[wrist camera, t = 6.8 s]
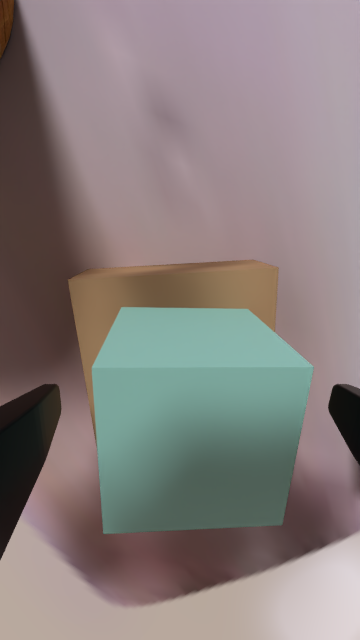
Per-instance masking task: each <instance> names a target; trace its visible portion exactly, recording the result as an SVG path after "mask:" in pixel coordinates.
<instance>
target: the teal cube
mask: <svg viewBox="0 0 360 640" xmlns="http://www.w3.org/2000/svg"><path fill="white" fill-rule="evenodd" d="M313 369H314V367H313V366H312V365H311V364H310V363H309V362H308V361H306V360H305V359H304V358H303V357H302V356H301V355H300V354H298V353H297V352H296V351H295V350H294V349H293V348H292V347H291V346H289V345H288V344H287V343H286V342H285V341H284V340H283V339H281V338H280V337H279V336H278V335H277V334H276V333H275V332H274V331H272V330H271V329H270V328H269V327H268V326H267V325H266V324H264V323H263V322H262V321H261V320H260V319H259V318H258V317H257V316H255V315H254V314H253V313H252V312H251V311H250V310H249V309H223V308H149V307H121V309H120V311H119V313H118V315H117V317H116V319H115V321H114V323H113V325H112V327H111V329H110V331H109V333H108V336H107V338H106V340H105V342H104V344H103V346H102V348H101V350H100V352H99V354H98V356H97V358H96V360H95V362H94V364H93V366H92V381H93V395H94V409H95V423H96V437H97V451H98V466H99V480H100V494H101V508H102V522H103V534H115V533H135V532H155V531H175V530H195V529H215V528H236V527H256V526H276V525H282V524H283V519H284V514H285V509H286V504H287V499H288V494H289V489H290V484H291V479H292V474H293V469H294V464H295V459H296V454H297V449H298V444H299V439H300V434H301V429H302V424H303V419H304V414H305V409H306V404H307V399H308V394H309V389H310V384H311V379H312V374H313Z"/></svg>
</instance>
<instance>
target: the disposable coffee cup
mask: <svg viewBox="0 0 360 640" xmlns="http://www.w3.org/2000/svg"><path fill="white" fill-rule="evenodd" d="M13 11H14V0H0V58H1V56H2V54H3V52H4V49H5V47H6V45H7V42H8V40H9V37H10V33H11V29H12V24H13Z"/></svg>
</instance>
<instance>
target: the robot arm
mask: <svg viewBox="0 0 360 640" xmlns="http://www.w3.org/2000/svg"><path fill="white" fill-rule="evenodd" d="M328 409H329V412H330V415H331V416H332V418H333V420H334V422H335V424H336V426H337V427H338V429H339V431H340V433H341V435H342V436H343V438H344V440H345V442H346V444H347V446H348V447H349V449H350V451H351V453H352V454H353V456H354V457H355V459H356V461H357V462H358V464H359V465H360V389H359V388H356V387H354V386H351V385H348V384H336V385H334V386H333V388H332V392H331V397H330V401H329V405H328ZM60 415H61V400H60V390H59V386H58V385H57V384H44V385H42V386H40V387H38V388H36V389H34V390H32V391H30V392H28V393H26V394H24V395H22V396H20V397H18V398H16V399H14V400H12V401H10V402H8V403H6V404H4V405H2V406H0V560H1V558H2V555H3V553H4V551H5V549H6V546H7V544H8V542H9V540H10V538H11V535H12V533H13V531H14V529H15V527H16V525H17V522H18V520H19V518H20V516H21V514H22V511H23V509H24V507H25V505H26V503H27V500H28V498H29V496H30V494H31V492H32V489H33V487H34V485H35V483H36V481H37V478H38V476H39V474H40V472H41V470H42V467H43V465H44V463H45V460H46V457H47V455H48V452H49V449H50V445H51V442H52V439H53V436H54V433H55V430H56V427H57V424H58V421H59V418H60Z"/></svg>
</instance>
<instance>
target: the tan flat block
mask: <svg viewBox="0 0 360 640" xmlns="http://www.w3.org/2000/svg"><path fill="white" fill-rule="evenodd" d="M278 269H279V268H278V267H275V266H272V265H268V264H265V263H262V262H259V261H255V260H240V261H222V262H205V263H187V264H170V265H153V266H135V267H118V268H100V269H87V270H85V271H84V272H82V273H80V274H78V275H76V276H74V277H72V278H71V279H69V280H68V285H69V290H70V296H71V302H72V308H73V313H74V319H75V325H76V331H77V336H78V342H79V348H80V354H81V359H82V365H83V371H84V377H85V382H86V388H87V394H88V400H89V405H90V411H91V417H92V423H93V428H94V434H95V440H96V446H97V437H96V423H95V409H94V395H93V381H92V366H93V364H94V362H95V360H96V358H97V356H98V354H99V352H100V350H101V348H102V346H103V344H104V342H105V340H106V338H107V336H108V333H109V331H110V329H111V327H112V325H113V323H114V321H115V319H116V317H117V315H118V313H119V311H120V309H121V307H149V308H223V309H249V310H250V311H251V312H252V313H253V314H254V315H255V316H257V317H258V318H259V319H260V320H261V321H262V322H263V323H264V324H266V325H267V326H268V327H269V328H270V329H271V330H272V331H274V332H275V318H276V301H277V285H278Z"/></svg>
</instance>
